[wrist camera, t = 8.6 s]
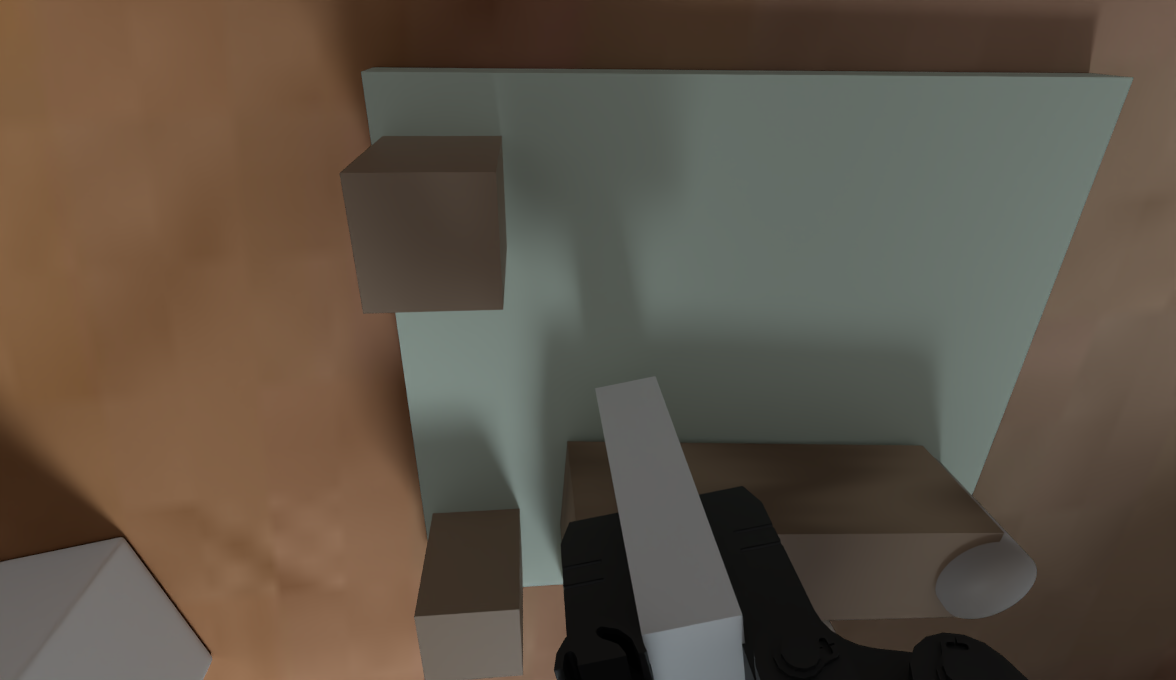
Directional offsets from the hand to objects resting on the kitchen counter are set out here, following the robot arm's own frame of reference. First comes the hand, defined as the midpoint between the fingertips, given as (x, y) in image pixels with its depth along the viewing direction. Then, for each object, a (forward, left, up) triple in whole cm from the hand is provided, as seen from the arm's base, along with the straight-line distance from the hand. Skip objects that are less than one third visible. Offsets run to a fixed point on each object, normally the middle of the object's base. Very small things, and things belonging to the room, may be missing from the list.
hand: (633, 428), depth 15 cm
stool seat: (-3, 0, -3) cm, 4 cm away
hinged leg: (-4, +3, -2) cm, 6 cm away
